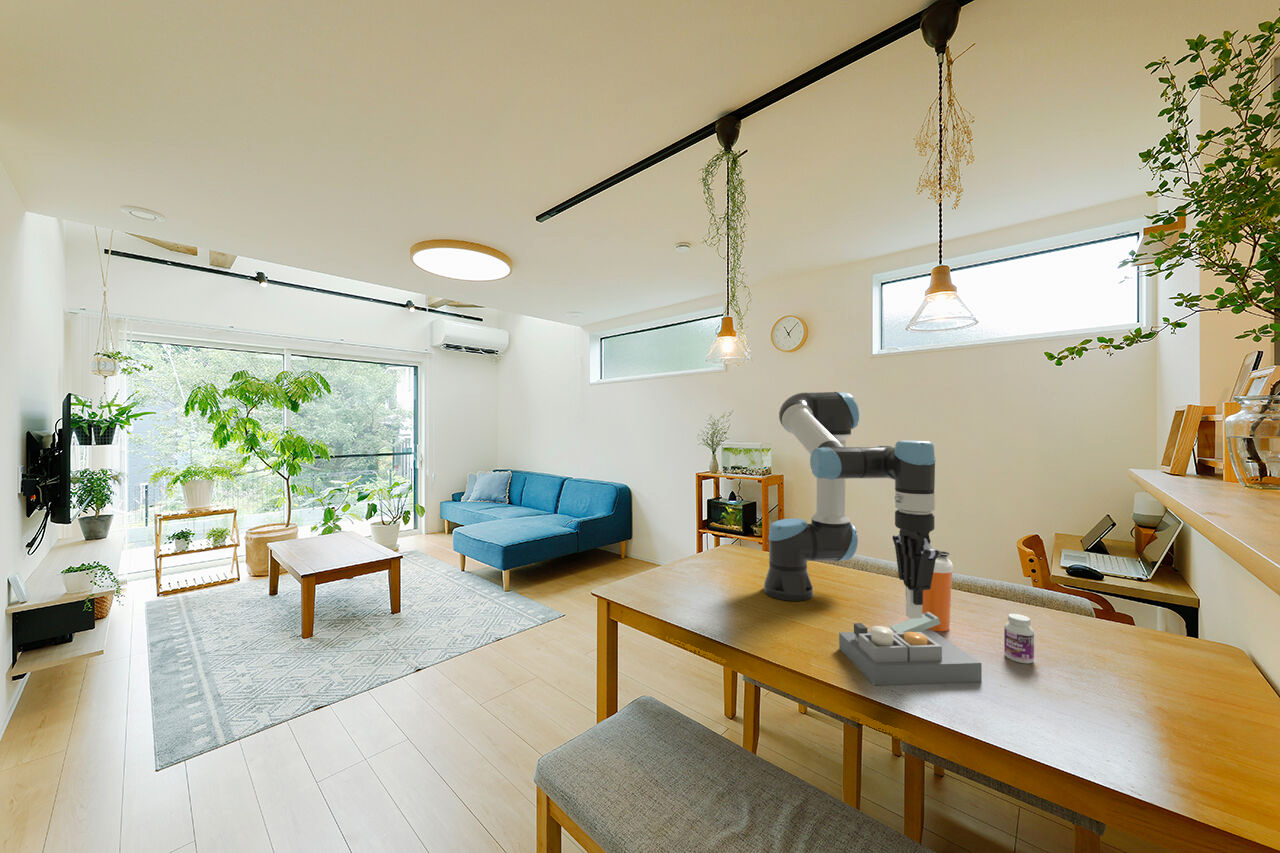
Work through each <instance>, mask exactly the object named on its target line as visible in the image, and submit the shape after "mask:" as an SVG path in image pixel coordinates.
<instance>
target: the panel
mask: <svg viewBox="0 0 1280 853" xmlns="http://www.w3.org/2000/svg"><path fill="white" fill-rule="evenodd" d="M867 632H868V633H866V634H859V637H857V636H856V635H855V634H854V631H848V632H847V631H845V632H844V631H843V632H842V631H841V632H840V631H839V632H838V640H839V642H838V644H839V646H838V647H839V648H838V649H839V650H840V651H841V652H842V653H843V654H844V655H845V656H846V657H847V658H848V659H849V661H850V662H852V664H853V665H854V666H855V667H856V668H857V669H858V670H859V671H860V672H861V673H862V674H863V675H864V676H865V677H866V678H867V679H868V680H869V681H870V682H871V683H872V684H873V685H874V686H892V685H893V686H895V685H898V686H899V685H926V684H930V685H931V684H954V683H955V684H957V683H958V684H959V683H960V684H961V683H982V678H983V677H982V676H983V674H982V670H983V669H982V668H983V667H982V662H981V661H979V660H978V659H977V658H976V657H974V656H971V655H970V654H969V653H967V652H966V651H964V650H963V649H961V648H960V647H959V646H957V645H955V644H953V642H951V641H949V640H947V639H946V638H945V637H943V636H942V635H940V634H939V633H937V631H933V630H929V629H926V630H924V631H921V632H917V633H920V634H923V635H925V636H926V637H927V645H910V644H909V643H907V642H906V641H905V640H904V633H905V632H901V633H894V646H876V645H875V644H873V643H872V642H871V631H867Z"/></svg>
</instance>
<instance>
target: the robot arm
mask: <svg viewBox="0 0 1280 853" xmlns="http://www.w3.org/2000/svg"><path fill="white" fill-rule="evenodd" d="M778 419H779V421H780V424H781V426H782V427H783V429H784V430H785V431H786V432H788V433H790V434H792V435H794V436H795V438H796V440H798V441H799V443H800V444H801V446H803V447H804V449H805V450H806V451H807V453H809V455H810V457H809V458H810V459H809V462H810V463H809V466H810V469H811V473H812V475H813V477H815V478H816V512H815V513H814V514H813V515H812V516H811V522H810V523H807V521H806V520H805V519H802V518H783V519H779V520H778V519H777V520H776V521H774V522H772V523H771V524H770V525H769V529H768V530H769V531H768V547H769V548H768V549H769V552H768V556H769V559H768V560H769V561H768V563H769V568H768V570H767V574H766V576H765V580H764V583H763V591H764V593H765V594H766V595H767V596H769V597H771V598H773V599H778V600H781V601H789V602H790V601H791V602H802V601H806V600H807V601H808V600H810V599H812V597H813V596H814V587H813V584H812V581H811V578H810V575H809V572H808V561H809V562H810V561H811V562H812V561H815V562H817V561H821V562H823V561H831V562H833V561H834V562H840V561H847V560H851V559H852V558H853V557H854V555H855V554H856V553H857V548H858V544H859V543H858V542H859V537H858V531H857V528H856V527H855V525H854V524H853V523H851V518H849V517H848V516H847V515H846V479H847V480H848V479H891V480H894V491H895V496H894V504H895V506H894V507H895V508H896V509H897V510H895V512H894V526H895V528H897V529H899V532H898V533H899V534H897V535H896V534H895V535H892V538H891V539H892V540H893V541H892V542H893V544H894V549H895V555H896V556H895V558H896V563H897V573H898V578H899V580H900V581H903V585H904V586H905V604H906V605H905V616H906V617H907V618H909V619H911V618H922V604H923V590H930V588H931V583H932V577H933V572H934V566H935V561H936V558H937V557H938V555H939V551H940V550H938V549H936V548H935V549H934V548H933V547H932V546H931V538H930V533H931V532H933V531H934V530H935V514H934V513H933V512H935V509H936V507H935V506H936V505H935V504H936V502H935V501H936V500H935V498H936V497H935V496H936V495H935V493H936V492H935V483H936V480H935V479H936V478H935V477H936V476H935V473H936V457H935V445H934V444H933V443H932V441H928V440H898V441H897V442H896V443H895V444H894V445H895V446H890V445H877V446H872V447H871V446H862V447H861V446H859V447H858V446H856V447H854V446H852V447H851V446H849V447H846V446H847V445H846V444H847V442H846V441H847V439H849V437H850V436H852V430H854V429H855V428H857V427H858V425H859V421H860V411H859V406H858V403H857V401H856V400H855V398H854V397H853V395H852V394H850V393H848V392H843V391H842V392H841V391H831V392H829V391H828V392H827V391H826V392H825V391H823V392H821V391H820V392H798V393H796V394H793V395H792V396H790V397H788V398H787V399H786V400H785V401H784V402H783V403H782V405H781V407H780V408H779V411H778Z"/></svg>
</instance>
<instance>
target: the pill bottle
mask: <svg viewBox="0 0 1280 853" xmlns="http://www.w3.org/2000/svg"><path fill="white" fill-rule="evenodd" d="M1007 620H1008V622H1006V623H1005V624H1004V634H1003V636H1004V641H1003V642H1004V644H1003V648H1004V649H1003V650H1004V656H1005V657H1006V658H1007V659H1009V660H1011V661H1014V662H1017V663H1021V664H1031V663H1034V661H1035V631H1034V629H1033V628H1032V627H1031V618H1030V617H1028V616H1026V615H1023V614H1019V613H1018V614H1017V613H1009V614H1008V616H1007Z"/></svg>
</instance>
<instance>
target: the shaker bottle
mask: <svg viewBox="0 0 1280 853" xmlns="http://www.w3.org/2000/svg"><path fill="white" fill-rule="evenodd" d="M938 551H939V555H938V557H937V558H936V561H935V566H934V572H933V577H932V583H931V588H930V590H923V604H922V614H924V613H926V612H930V613H931V614H933V615H935V616H936V617H938V618H939V621H940V624H939V625H936V626H934V627H931V628H929V629H928V630H933V631H934V632H947V631H949V630H950V628H951V627H950V624H951V621H950V619H951V606H952V605H951V603H952V581H953V580H952V579H953V578H952V577H953V572H954V564H953V563H952V561H951V560H950V559H948V556H949V555H950V553H949V552H948V551H943V550H938Z"/></svg>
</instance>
